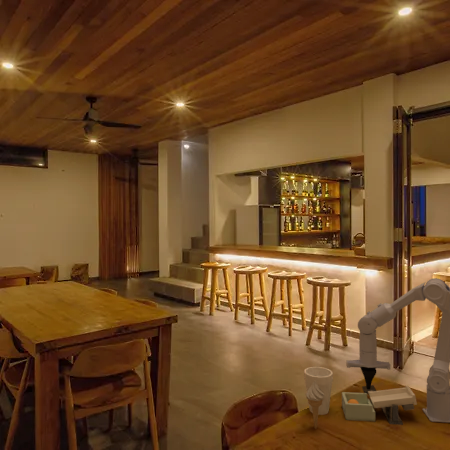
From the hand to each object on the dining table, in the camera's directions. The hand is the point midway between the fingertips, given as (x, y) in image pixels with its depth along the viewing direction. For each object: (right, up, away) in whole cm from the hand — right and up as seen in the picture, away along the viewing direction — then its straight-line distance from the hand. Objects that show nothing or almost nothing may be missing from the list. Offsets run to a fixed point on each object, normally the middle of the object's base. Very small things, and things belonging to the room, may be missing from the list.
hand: (368, 388), depth 138 cm
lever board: (+5, -2, -6) cm, 8 cm away
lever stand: (+4, -5, -10) cm, 12 cm away
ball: (-8, -2, -9) cm, 12 cm away
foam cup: (-19, -5, -6) cm, 20 cm away
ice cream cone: (-23, -5, -18) cm, 29 cm away
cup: (-7, -5, -9) cm, 12 cm away
